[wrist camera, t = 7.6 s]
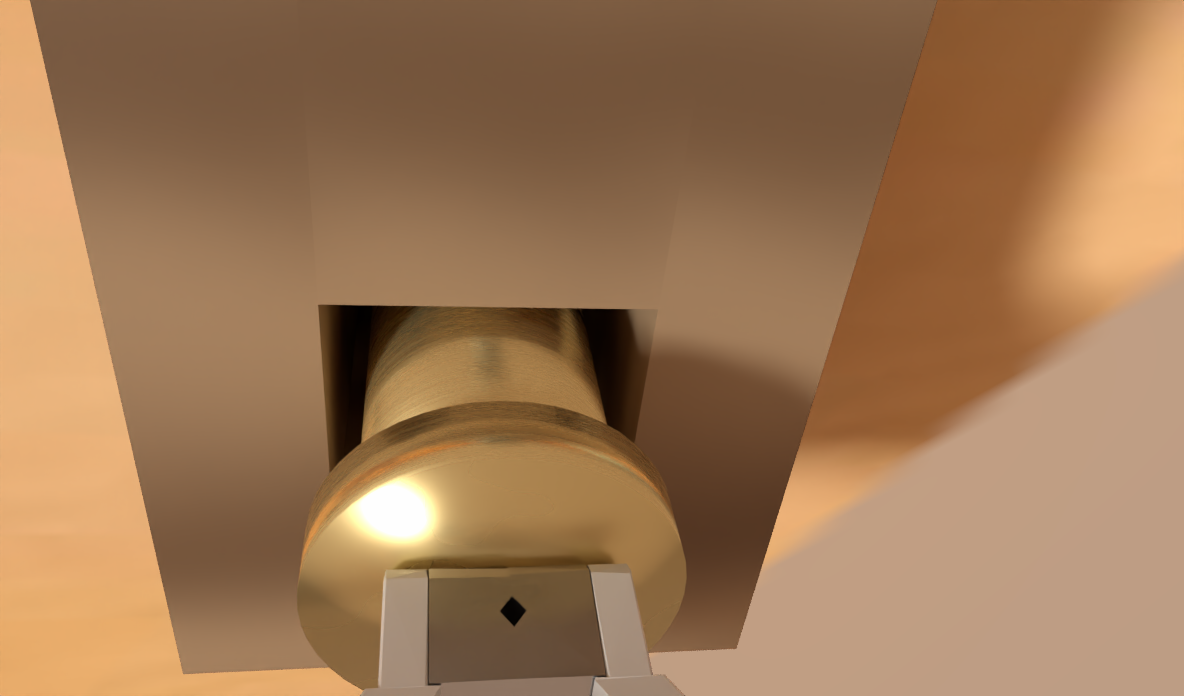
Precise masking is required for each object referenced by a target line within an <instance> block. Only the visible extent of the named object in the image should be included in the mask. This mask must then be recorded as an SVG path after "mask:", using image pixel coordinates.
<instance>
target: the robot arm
mask: <svg viewBox="0 0 1184 696" xmlns="http://www.w3.org/2000/svg"><path fill="white" fill-rule="evenodd" d="M360 696H685V695H684V694H683V693H682V692H681V691H680V690H679V689H678V688H677V687H676V686H675V685H674V684H673V683H672V682H671V681H670V680H669V679H668V678H667V677H666V676H665V675H653V673H652V668H651V663H650V658H649V654H648V649H647V644H646V639H645V635H644V630H643V625H642V620H641V615H640V611H639V606H638V601H637V596H636V592H635V587H634V582H633V577H632V572H631V569H630V568H629V567H628V565H627V564H595V565H587V566H586V565H585V564H575V565H550V566H525V567H507V569H429V576H428V571H427V569H395V570H386V572H385V576H384V581H383V599H382V618H381V638H380V657H379V676H378V688H368V689H365V690H364V691H363V692H362V694H361V695H360Z"/></svg>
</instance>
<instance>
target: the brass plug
mask: <svg viewBox="0 0 1184 696" xmlns="http://www.w3.org/2000/svg"><path fill="white" fill-rule="evenodd" d="M575 564H585V565H586V566H587V565H595V564H627V565H628V567H629V568H630V569H631V572H632V577H633V582H634V587H635V592H636V596H637V601H638V606H639V611H640V615H641V620H642V625H643V630H644V635H645V639H646V644H647V649H648V651H649V650H650V649H651V648H652V647H653V646H654V645H655V644H656V643H657V642H658V641H659V640H660V639H661V637H662V636H663V635H664V633H665V632H666V631H667V629H668V628H669V627H670V625H671V624H672V622H673V620H674V618H675V616H676V614H677V612H678V611H679V608H680V605H681V602H682V599H683V596H684V593H685V586H686V579H687V574H686V560H685V556H684V552H683V548H682V544H681V540H680V537H679V533H678V529H677V525H676V522H675V518H674V514H673V511H672V507H671V503H670V499H669V496H668V492H667V488H666V486H665V484H664V482H663V479H662V477H661V475H660V473H659V471H658V470H657V468H656V467H655V466H654V464H653V463H652V461H651V460H650V458H649V457H648V456H647V455H646V454H645V453H644V452H643V451H642V450H641V449H640V448H639V447H638V446H637V445H636V444H635V443H634V442H632V441H631V440H630V439H628V438H627V437H626V436H624V435H623V434H622V433H620V432H619V431H617V430H615V429H613V428H612V427H610V426H608V425H607V423H606V418H605V413H604V409H603V404H602V400H601V395H600V390H599V386H598V381H597V377H596V372H595V367H594V363H593V358H592V353H591V349H590V344H589V340H588V335H587V330H586V326H585V321H584V317H583V312H582V308H521V307H452V306H383V305H373V306H372V318H371V330H370V342H369V355H368V367H367V379H366V391H365V403H364V416H363V428H362V440H361V444H360V445H358V446H357V447H356V448H355V449H354V450H352V451H351V452H350V453H349V454H348V455H347V456H345V457H344V458H343V459H342V460H341V461H340V462H339V463H338V464H337V465H336V467H335V468H334V469H333V470H332V471H331V472H330V473H329V475H328V476H327V477H326V478H325V480H324V482H323V483H322V485H321V486H320V488H319V490H318V491H317V493H316V495H315V497H314V500H313V502H312V505H311V507H310V510H309V513H308V518H307V523H306V528H305V536H304V543H303V551H302V558H301V565H300V573H299V580H298V588H297V610H298V615H299V619H300V624H301V627H302V629H303V631H304V633H305V636H306V638H307V640H308V642H309V643H310V645H311V646H312V648H313V649H314V651H315V652H316V654H317V655H318V656H319V657H320V658H321V659H322V660H323V661H324V662H325V663H326V664H327V665H328V666H329V668H331V669H332V670H333V671H334V672H336V673H337V674H338V675H340V676H341V677H342V678H343V679H345V680H346V681H348V682H350V683H351V684H353V685H355V686H357V687H358V688H360V689H362V690H365V689H368V688H378V676H379V657H380V638H381V618H382V599H383V581H384V576H385V572H386V570H395V569H427V571H428V576H429V569H507V567H525V566H550V565H575Z"/></svg>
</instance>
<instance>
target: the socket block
mask: <svg viewBox="0 0 1184 696" xmlns="http://www.w3.org/2000/svg"><path fill="white" fill-rule="evenodd" d="M30 2H31V7H32V11H33V15H34V20H35V24H36V29H37V33H38V37H39V42H40V46H41V51H42V55H43V59H44V64H45V68H46V73H47V77H48V81H49V86H50V90H51V94H52V99H53V103H54V108H55V112H56V116H57V121H58V125H59V130H60V134H61V138H62V143H63V147H64V152H65V156H66V160H67V165H68V169H69V174H70V178H71V182H72V187H73V191H74V196H75V200H76V204H77V209H78V213H79V218H80V222H81V226H82V231H83V235H84V240H85V244H86V248H87V253H88V257H89V262H90V266H91V270H92V275H93V279H94V284H95V288H96V292H97V297H98V301H99V306H100V310H101V314H102V319H103V323H104V328H105V332H106V336H107V341H108V345H109V350H110V354H111V358H112V363H113V367H114V372H115V376H116V380H117V385H118V389H119V394H120V398H121V402H122V407H123V411H124V416H125V420H126V424H127V429H128V433H129V438H130V442H131V446H132V451H133V455H134V460H135V464H136V468H137V473H138V477H139V482H140V486H141V490H142V495H143V499H144V504H145V508H146V512H147V517H148V521H149V526H150V530H151V534H152V539H153V543H154V548H155V552H156V556H157V561H158V565H159V570H160V574H161V578H162V583H163V587H164V592H165V596H166V600H167V605H168V609H169V614H170V618H171V622H172V627H173V631H174V636H175V640H176V644H177V649H178V653H179V658H180V662H181V666H182V671H183V674H196V673H217V672H239V671H261V670H283V669H304V668H326V667H329V666H328V665H327V664H326V663H325V662H324V661H323V660H322V659H321V658H320V657H319V656H318V655H317V654H316V652H315V651H314V649H313V648H312V646H311V645H310V643H309V642H308V640H307V638H306V636H305V633H304V631H303V629H302V627H301V624H300V619H299V615H298V610H297V588H298V580H299V573H300V565H301V558H302V551H303V543H304V536H305V528H306V523H307V518H308V513H309V510H310V507H311V505H312V502H313V500H314V497H315V495H316V493H317V491H318V490H319V488H320V486H321V485H322V483H323V482H324V480H325V478H326V477H327V476H328V475H329V473H330V472H331V471H332V470H333V469H334V468H335V467H336V465H337V464H338V463H339V462H340V461H341V460H342V459H343V458H344V457H345V456H347V455H348V454H349V453H350V452H351V451H352V450H354V449H355V448H356V447H357V446H358V445H360V444H361V440H362V428H363V416H364V403H365V391H366V379H367V367H368V355H369V342H370V330H371V318H372V306H373V305H383V306H452V307H521V308H582V312H583V317H584V321H585V326H586V330H587V335H588V340H589V344H590V349H591V353H592V358H593V363H594V367H595V372H596V377H597V381H598V386H599V390H600V395H601V400H602V404H603V409H604V413H605V418H606V423H607V425H608V426H610V427H612V428H613V429H615V430H617V431H619V432H620V433H622V434H623V435H624V436H626V437H627V438H628V439H630V440H631V441H632V442H634V443H635V444H636V445H637V446H638V447H639V448H640V449H641V450H642V451H643V452H644V453H645V454H646V455H647V456H648V457H649V458H650V460H651V461H652V463H653V464H654V466H655V467H656V468H657V470H658V471H659V473H660V475H661V477H662V479H663V482H664V484H665V486H666V488H667V492H668V496H669V499H670V503H671V507H672V511H673V514H674V518H675V522H676V525H677V529H678V533H679V537H680V540H681V544H682V548H683V552H684V556H685V560H686V574H687V579H686V586H685V593H684V596H683V599H682V602H681V605H680V608H679V611H678V612H677V614H676V616H675V618H674V620H673V622H672V624H671V625H670V627H669V628H668V629H667V631H666V632H665V633H664V635H663V636H662V637H661V639H660V640H659V641H658V642H657V643H656V644H655V645H654V646H653V647H652V648H651V649H650V650H649V651H648V653H652V652H671V651H672V652H673V651H696V650H716V649H736V648H737V645H738V641H739V638H740V635H741V632H742V629H743V625H744V622H745V619H746V616H747V613H748V609H749V606H750V603H751V600H752V596H753V593H754V590H755V587H756V583H757V580H758V577H759V574H760V571H761V567H762V564H763V561H764V558H765V554H766V551H767V548H768V545H769V542H770V538H771V535H772V532H773V529H774V525H775V522H776V519H777V516H778V513H779V509H780V506H781V503H782V500H783V496H784V493H785V490H786V487H787V483H788V480H789V477H790V474H791V471H792V467H793V464H794V461H795V458H796V454H797V451H798V448H799V445H800V442H801V438H802V435H803V432H804V429H805V425H806V422H807V419H808V416H809V413H810V409H811V406H812V403H813V400H814V396H815V393H816V390H817V387H818V384H819V380H820V377H821V374H822V371H823V367H824V364H825V361H826V358H827V354H828V351H829V348H830V345H831V342H832V338H833V335H834V332H835V329H836V325H837V322H838V319H839V316H840V313H841V309H842V306H843V303H844V300H845V296H846V293H847V290H848V287H849V284H850V280H851V277H852V274H853V271H854V267H855V264H856V261H857V258H858V254H859V251H860V248H861V245H862V242H863V238H864V235H865V232H866V229H867V225H868V222H869V219H870V216H871V213H872V209H873V206H874V203H875V200H876V196H877V193H878V190H879V187H880V184H881V180H882V177H883V174H884V171H885V167H886V164H887V161H888V158H889V155H890V151H891V148H892V145H893V142H894V138H895V135H896V132H897V129H898V125H899V122H900V119H901V116H902V113H903V109H904V106H905V103H906V100H907V96H908V93H909V90H910V87H911V84H912V80H913V77H914V74H915V71H916V67H917V64H918V61H919V58H920V55H921V51H922V48H923V45H924V42H925V38H926V35H927V32H928V29H929V25H930V22H931V19H932V16H933V13H934V9H935V6H936V3H937V0H30Z"/></svg>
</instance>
